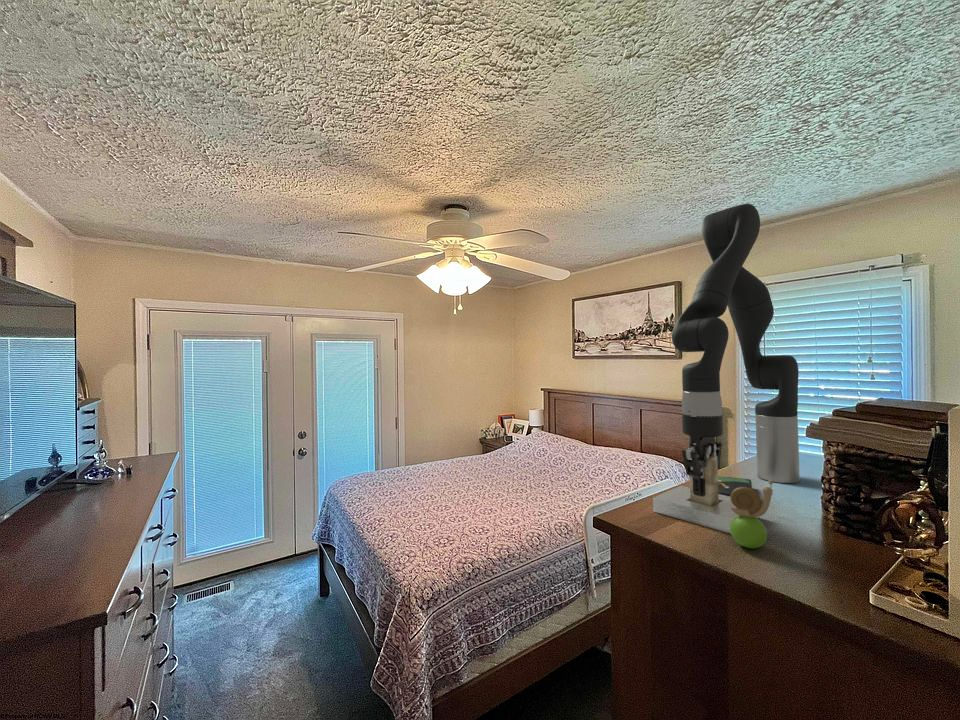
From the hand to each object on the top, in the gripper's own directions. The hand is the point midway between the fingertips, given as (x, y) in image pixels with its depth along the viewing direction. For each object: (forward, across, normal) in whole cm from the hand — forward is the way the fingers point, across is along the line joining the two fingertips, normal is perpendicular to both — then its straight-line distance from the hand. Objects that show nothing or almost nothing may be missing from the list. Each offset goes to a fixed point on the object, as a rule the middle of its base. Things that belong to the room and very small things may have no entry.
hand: (704, 492), depth 85 cm
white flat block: (+5, 0, 0) cm, 5 cm away
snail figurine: (+5, +10, +12) cm, 16 cm away
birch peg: (+2, 0, 0) cm, 2 cm away
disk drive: (+5, -18, -2) cm, 19 cm away
